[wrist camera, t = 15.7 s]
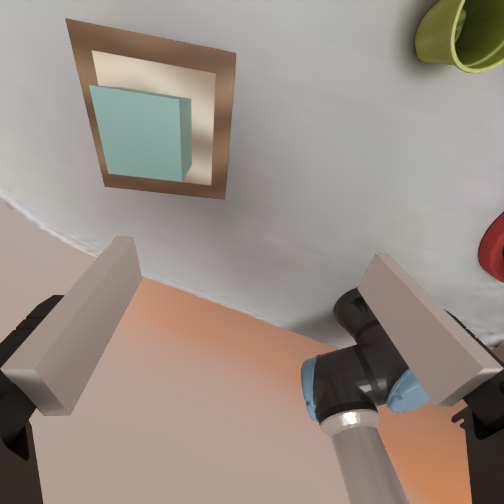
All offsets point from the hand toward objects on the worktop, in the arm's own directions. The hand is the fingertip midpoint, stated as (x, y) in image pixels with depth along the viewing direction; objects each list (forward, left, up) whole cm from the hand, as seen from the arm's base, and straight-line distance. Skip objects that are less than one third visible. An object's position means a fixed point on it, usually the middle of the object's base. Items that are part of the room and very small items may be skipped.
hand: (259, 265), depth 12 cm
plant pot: (+18, -24, -29) cm, 42 cm away
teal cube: (+3, +10, -21) cm, 23 cm away
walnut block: (+3, +10, -29) cm, 31 cm away
